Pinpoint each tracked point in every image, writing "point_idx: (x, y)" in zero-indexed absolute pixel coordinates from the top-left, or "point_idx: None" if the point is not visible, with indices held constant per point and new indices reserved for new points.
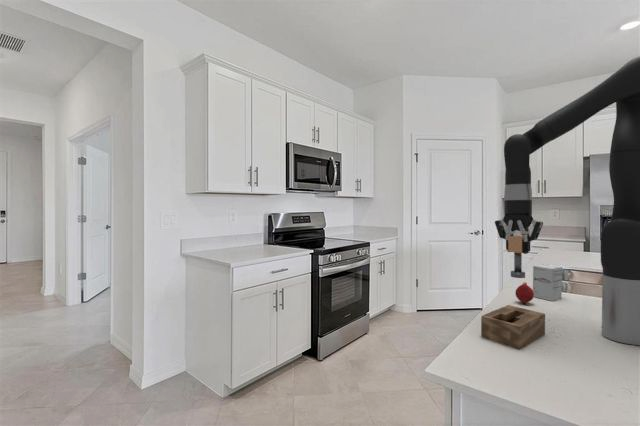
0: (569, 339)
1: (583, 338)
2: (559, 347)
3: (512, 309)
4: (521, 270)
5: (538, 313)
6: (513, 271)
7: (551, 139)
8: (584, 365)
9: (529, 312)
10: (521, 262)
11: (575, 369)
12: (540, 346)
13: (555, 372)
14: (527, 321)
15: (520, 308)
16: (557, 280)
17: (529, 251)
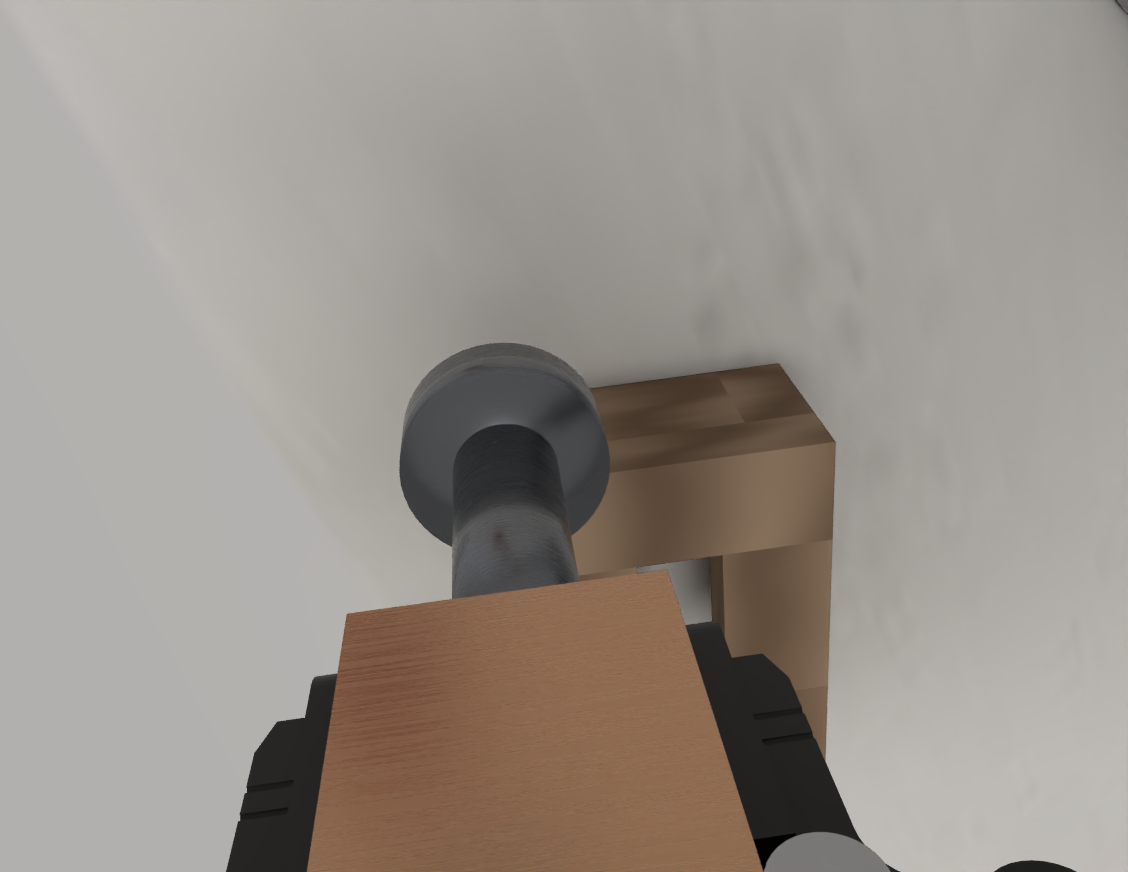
0: (927, 301)
1: (995, 187)
2: (918, 492)
3: (608, 566)
4: (558, 470)
5: (796, 483)
6: (445, 491)
7: None
8: (1069, 597)
9: (737, 521)
10: (573, 550)
11: (1044, 669)
12: (836, 571)
13: (985, 760)
14: (817, 703)
15: (634, 487)
16: None
17: (768, 671)
